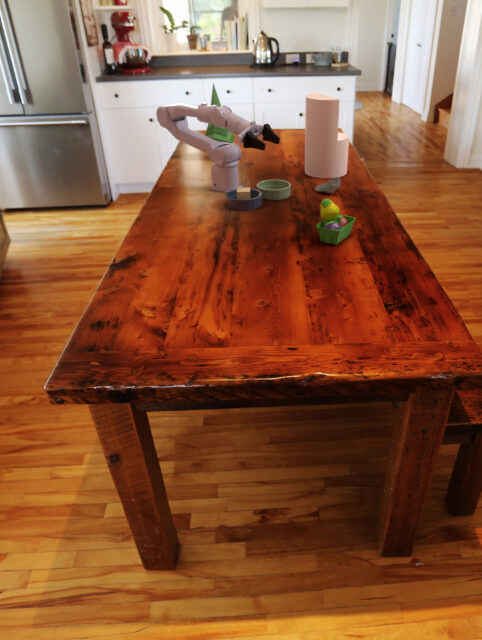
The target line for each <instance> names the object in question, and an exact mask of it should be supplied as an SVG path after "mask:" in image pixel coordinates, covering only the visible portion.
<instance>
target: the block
mask: <svg viewBox="0 0 482 640" xmlns="http://www.w3.org/2000/svg"><path fill="white" fill-rule="evenodd" d="M250 189H251V187H250V186H249V187H242V188H237V199H240V200H244V199H251V198H250Z"/></svg>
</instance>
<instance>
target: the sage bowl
mask: <svg viewBox="0 0 482 640" xmlns="http://www.w3.org/2000/svg"><path fill="white" fill-rule="evenodd" d="M256 190H259V191H260V192H261V193H262V200H267V201H280V200H285V199H288V198H290V197H291V196H292V183H291V182H289V181H287V180H284V179H266V180H261V181H259V182H257V183H256Z"/></svg>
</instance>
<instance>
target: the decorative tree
mask: <svg viewBox="0 0 482 640" xmlns="http://www.w3.org/2000/svg"><path fill="white" fill-rule="evenodd" d="M213 105H217V107H222V103H221V101H220V98H219V95H218V92H217V89H216V87H215V84H214V82H213V83H212V93H211V99H210V106H213ZM204 136H207V137H209V138H211V139H213V140H216V141H218V142H227V143H235V139H236V136H235V135H234V134H233V133H232V132H230V131H229V130H227V129H225V128H223V127H221V126H220V127H214V124H210V123H207V127H206V131H205V134H204Z"/></svg>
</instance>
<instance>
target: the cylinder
mask: <svg viewBox="0 0 482 640" xmlns="http://www.w3.org/2000/svg"><path fill="white" fill-rule="evenodd" d="M304 117H305V119H304V120H305V121H304V123H305V125H304V127H305V128H304V174H305V175H307V176H309V177H312V178H318V179H333V178H336V177H340V178H341V177H344V176H345V175H347V173H348V164H349V163H348V162H349V145H350V135H349V134H348V133H344V132H339V121H340V120H339V117H340V99H339V98H335V97H332V96H329V95H325V94H324V93H319V92H316V93H315V92H314V93H309V94H306V95H305V116H304Z"/></svg>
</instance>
